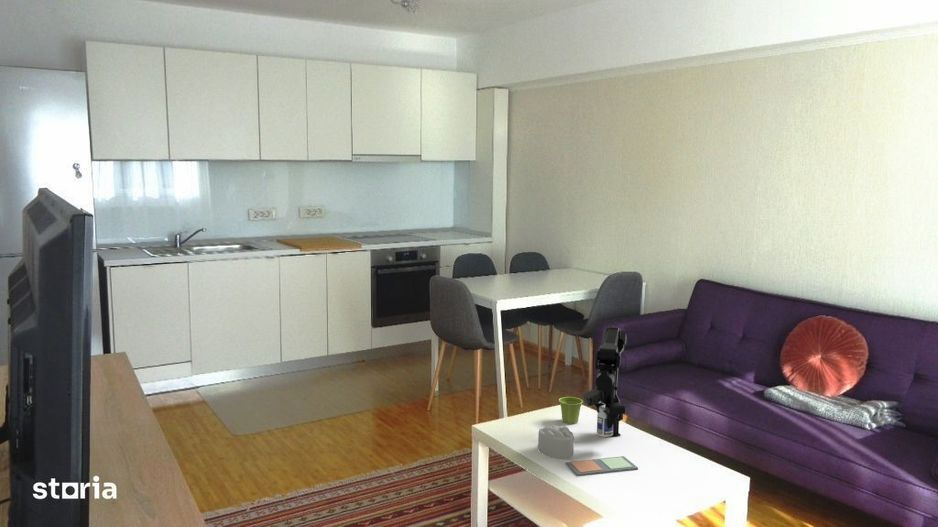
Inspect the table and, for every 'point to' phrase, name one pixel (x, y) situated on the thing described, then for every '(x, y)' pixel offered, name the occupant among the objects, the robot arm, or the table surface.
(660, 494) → the table surface
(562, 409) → the plant pot
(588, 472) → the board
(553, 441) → the lumpy-topped squat cylinder
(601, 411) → the pill bottle
